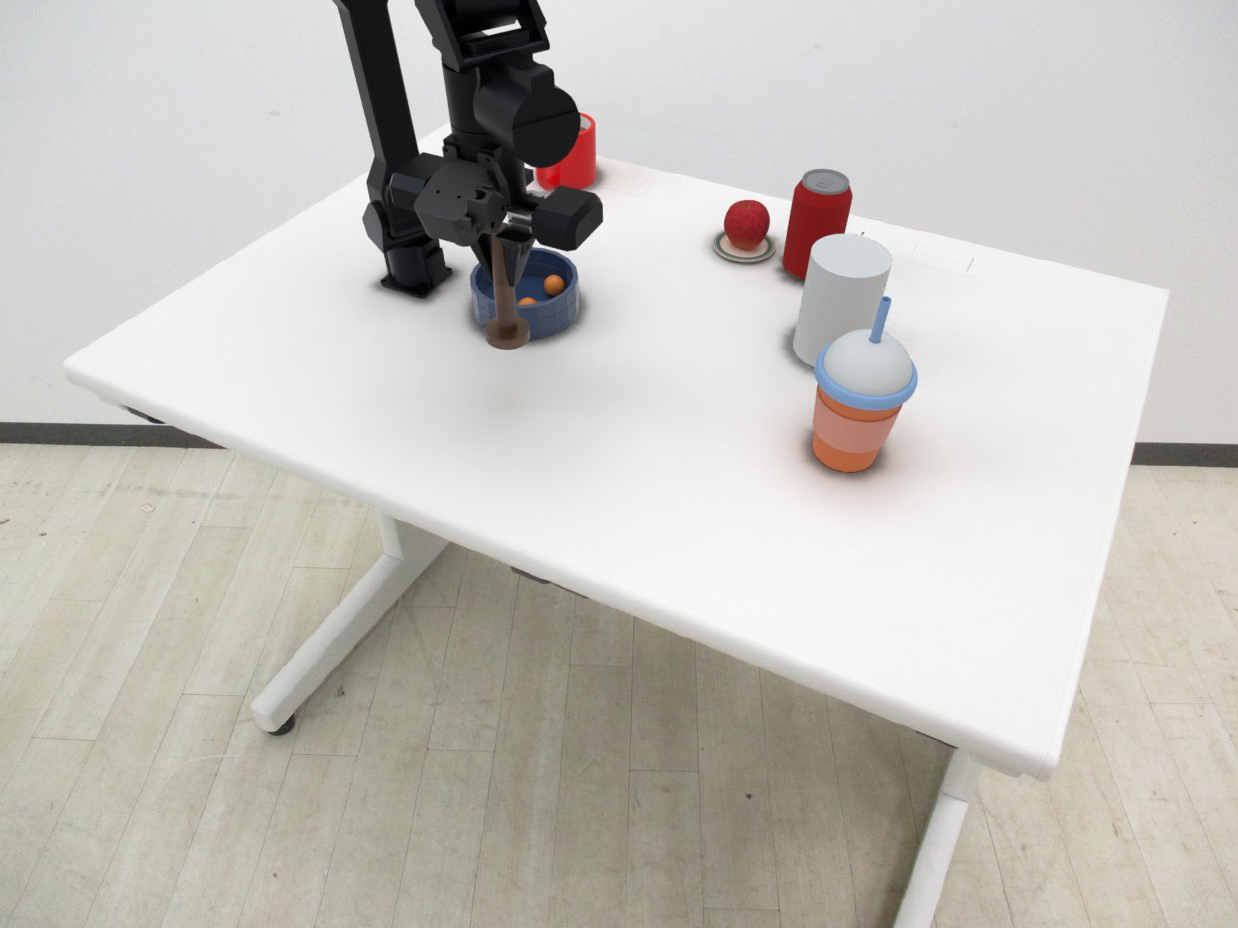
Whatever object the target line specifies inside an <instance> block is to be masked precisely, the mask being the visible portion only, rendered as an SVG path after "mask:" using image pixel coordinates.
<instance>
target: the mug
mask: <svg viewBox="0 0 1238 928" xmlns="http://www.w3.org/2000/svg"><path fill="white" fill-rule="evenodd" d="M579 112H580V117H581V125H580V132H579V135H578V139H577V141H576V143H575V145H574V147H573V149H572V150H571V151H570V153H569V154H568V155H567V156H566V157H565V158H564V159H563V160H562V161H561V162H559V163H557V164H555V165H554V166H551V167H548V168H535V178H536V181H537V183H538V186H539V187H540V188H541V189H542V190H545V191H551V190H553V189H554V190H555V189H556V188H558V187H559V186H560V185H563V186H567V187H572V188H576V189H580V190H583V189H585V188H588V187H589V186H591V185H592V184H594V183H595V182H596V179H597V140H596V139H597V138H596V137H597V136H596V135H597V134H596V133H597V132H596V131H597V130H596V121H595V119H594V118H593V117H592V116H590V115H589V114H586V113H584V112H581V111H579Z"/></svg>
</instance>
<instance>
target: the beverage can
mask: <svg viewBox="0 0 1238 928" xmlns="http://www.w3.org/2000/svg"><path fill="white" fill-rule="evenodd" d="M850 184H851V183H850V179H849V177H848V176H847V175H845V174H844V173H842V172H840V171H838V170H834V169H831V168H830V169H829V168H814V169H811V170H808V171H806V172H805V173H804V174H803V175H802V178H801V180H800V181H798V183H797V184H796V185H795V187H794V190H793V195H792V201H791V204H790V205H791V206H790V212H789V218H788V223H787V228H786V236H785V241H784V247H783V254H782V266H783V268H784V269H785V270H786V271H787V272H788V273H789V274H790V275H792V276H794V277H796V278H798V279H800V280H803V281H805V280H806V274H807V269H808V264H809V259H810V254H811V249H812V246H813V245H814V243H815V242H816V241H818V240H819V239H821V238H823V237H826V236H829V235H834V234H846V230H847V226H848V221H849V216H850V212H851V207H852V202H853V191H852V189H851V185H850Z"/></svg>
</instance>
